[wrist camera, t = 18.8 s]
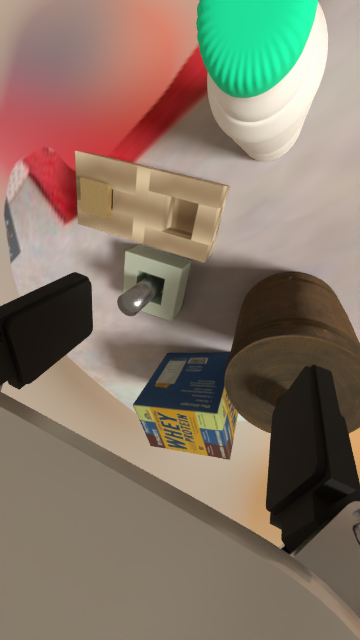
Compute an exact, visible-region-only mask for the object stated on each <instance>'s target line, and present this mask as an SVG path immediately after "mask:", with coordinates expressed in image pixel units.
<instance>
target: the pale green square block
mask: <svg viewBox="0 0 360 640" xmlns="http://www.w3.org/2000/svg"><path fill="white" fill-rule="evenodd" d="M191 263H192V261H191V260H188V259H185V258H182V257H178V256H175V255H172V254H169V253H166V252H162V251H159V250H156V249H153V248H150V247H146V246H143V245H138V246H136V247H133V248H131V249H129V250H126V251H125V265H124V281H123V293H125V292H126V291H128V290H129V289H130V288H132V287H133V286H135V285H136V284H137V283H139V282H140V281H142V280H143V279H144V278H146V277H147V276H149V275H150V274H151V275H154V276H157V277H160V278H163V279H165V283H164V289H163V290H162V291H161V292H160V293H159V294H158V295H157V296H156V297H154V298H153V299H152V300H151V301H150V302H149V303H148V304H147V305H146V306H145V307H143V308H142V309H141V311H143V312H146V313H149V314H151V315H154V316H157V317H159V318H162V319H165V320H168V321H170V322H172V321H173V319H174V318H175V317H176V315H177V314H178V313H179V312H180V310H181V307H182V303H183V298H184V294H185V290H186V285H187V281H188V276H189V272H190V267H191Z"/></svg>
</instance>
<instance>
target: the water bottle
mask: <svg viewBox="0 0 360 640" xmlns="http://www.w3.org/2000/svg"><path fill="white" fill-rule="evenodd" d="M197 12H198V18H197V30H198V35H197V37H198V43H199V46H200V53H201V56H202V59H203V62H204V65H205V67H206V69H207V71H208V75H207V90H208V99H209V104H210V107H211V110H212V113H213V116H214V118H215V120H216V122H217V123H218V125H219V126H220V128H221V129H222V130H223V131H224V132H225V133H226V134H227V135H228V136H230V137H231V138H232V139H233V140H234V141H235V142H236V143H237V144H238V145H239V146H240V147H241V148H242V149H243V150H244V151H245V152H246V153H247V154H248V155H249V156H250V157H251V158H253V159H255V160H258V161H272V160H275V159H277V158H279V157H281V156H282V155H284V154H285V153H286V152H287V151H288V150H289V149H290V148H291V147H292V146H293V144H294V143H295V141H296V140H297V138H298V136H299V134H300V131H301V128H302V126H303V123H304V120H305V118H306V116H307V113H308V111H309V109H310V106H311V103H312V100H313V98H314V96H315V94H316V92H317V90H318V87H319V85H320V82H321V79H322V76H323V73H324V69H325V65H326V59H327V51H328V32H327V25H326V20H325V16H324V13H323V11H322V8H321V6H320V4H319V2H318V0H200V2H199V4H198V7H197Z"/></svg>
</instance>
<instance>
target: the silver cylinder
mask: <svg viewBox="0 0 360 640" xmlns="http://www.w3.org/2000/svg"><path fill="white" fill-rule="evenodd" d="M164 283H165V279H163V278H160V277H157V276H154V275H151V274H150V275H149V276H147V277H146V278H144V279H143V280H142V281H140V282H139V283H137V284H136V285H135V286H133V287H132V288H130V289H129V290H128V291H126V292H125V293H123V294H122V295H120V296H119V298H118V301H117V303H118V307H119V309H120V310H121V311H122V312H123V313H124V314H126V315H128V316H134V315H136V314H137V313H138V312H139V311H140V310H141V309H142V308H143V307H145V306H146V305H147V304H148V303H149V302H150V301H151V300H152V299H153V298H154V297H156V296H157V295H158V294H159V293H160V292H161V291H162V290H163V289H164Z"/></svg>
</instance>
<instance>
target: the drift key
mask: <svg viewBox="0 0 360 640" xmlns="http://www.w3.org/2000/svg"><path fill="white" fill-rule="evenodd" d="M80 190H81V211H82V212H85V213H89V214H92V215H95V216H99V217H102V218H105V219H109V218H111V206H113V189H112V184H108V183H105V182H101V181H97V180H93V179H89V178H86V177H80Z"/></svg>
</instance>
